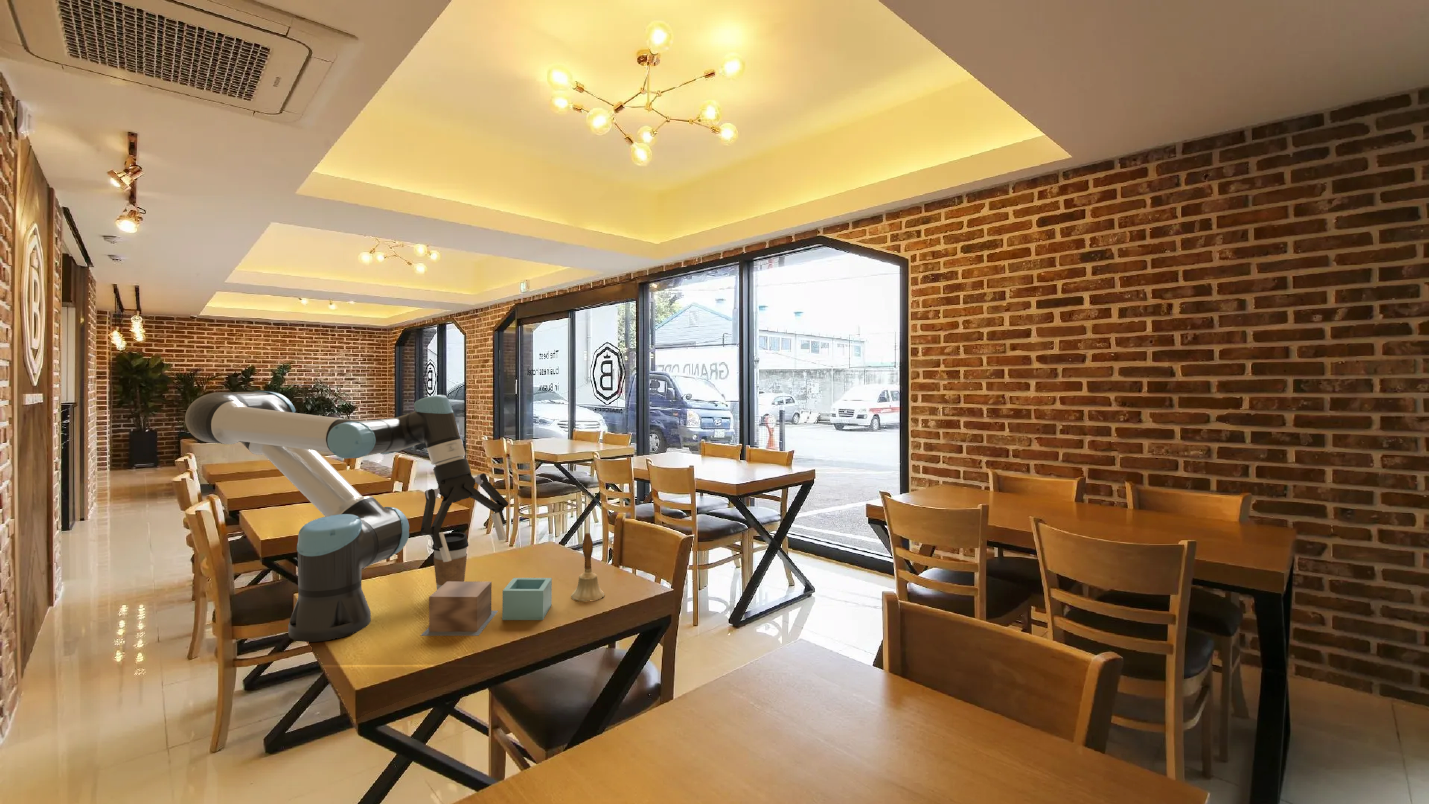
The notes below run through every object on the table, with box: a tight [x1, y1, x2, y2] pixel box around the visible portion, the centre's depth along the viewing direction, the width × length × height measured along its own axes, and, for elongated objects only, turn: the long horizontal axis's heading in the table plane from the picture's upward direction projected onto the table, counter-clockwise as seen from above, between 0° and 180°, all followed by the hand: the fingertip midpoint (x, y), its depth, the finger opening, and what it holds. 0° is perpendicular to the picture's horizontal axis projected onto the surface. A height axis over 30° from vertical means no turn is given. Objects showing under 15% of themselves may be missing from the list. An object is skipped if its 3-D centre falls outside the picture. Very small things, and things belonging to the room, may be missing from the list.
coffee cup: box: [431, 531, 470, 591], centre depth 156 cm, size 8×8×15 cm
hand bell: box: [570, 532, 605, 602], centre depth 157 cm, size 8×8×16 cm
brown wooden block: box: [428, 581, 493, 632], centre depth 138 cm, size 10×10×8 cm
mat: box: [419, 610, 499, 637], centre depth 138 cm, size 12×14×1 cm
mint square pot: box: [501, 577, 553, 621], centre depth 145 cm, size 9×9×7 cm
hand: (476, 550), depth 144 cm, fingers open, 13 cm apart
